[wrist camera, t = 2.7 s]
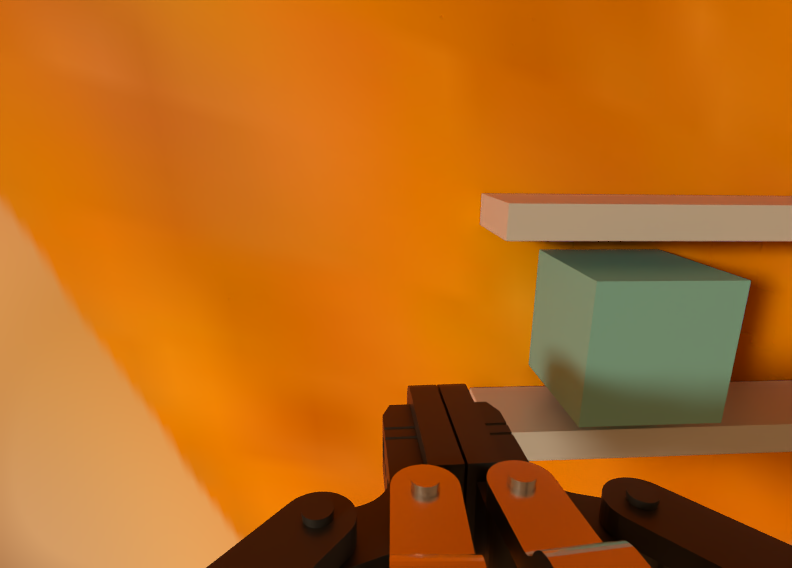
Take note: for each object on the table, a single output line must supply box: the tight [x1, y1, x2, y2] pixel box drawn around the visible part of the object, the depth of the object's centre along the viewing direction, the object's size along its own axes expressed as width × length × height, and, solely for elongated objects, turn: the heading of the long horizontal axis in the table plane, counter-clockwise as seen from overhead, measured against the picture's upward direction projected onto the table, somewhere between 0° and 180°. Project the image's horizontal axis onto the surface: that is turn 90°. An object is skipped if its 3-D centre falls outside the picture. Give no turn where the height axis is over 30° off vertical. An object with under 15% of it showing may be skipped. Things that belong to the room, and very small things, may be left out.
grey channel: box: [470, 193, 792, 461], centre depth 19 cm, size 9×18×4 cm, turn 89°
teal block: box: [529, 249, 751, 427], centre depth 18 cm, size 5×5×5 cm
